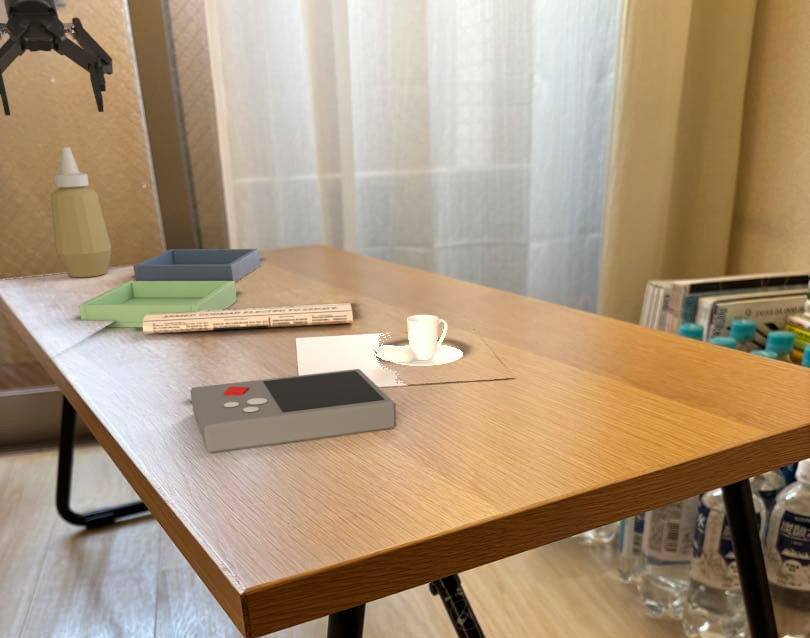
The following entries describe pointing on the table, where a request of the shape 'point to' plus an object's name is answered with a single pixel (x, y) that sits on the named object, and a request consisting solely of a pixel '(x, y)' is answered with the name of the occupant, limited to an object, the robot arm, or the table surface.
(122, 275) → the table surface
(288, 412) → the electronic device
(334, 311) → the newspaper
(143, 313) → the green tray
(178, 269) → the blue tray
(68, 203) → the squeeze bottle
